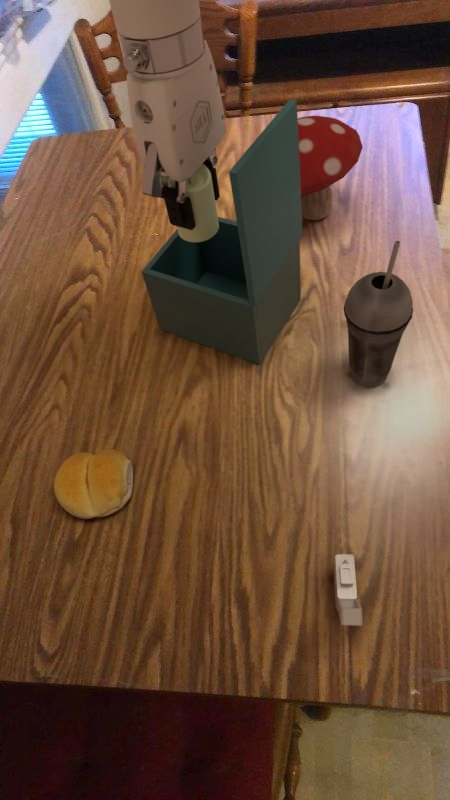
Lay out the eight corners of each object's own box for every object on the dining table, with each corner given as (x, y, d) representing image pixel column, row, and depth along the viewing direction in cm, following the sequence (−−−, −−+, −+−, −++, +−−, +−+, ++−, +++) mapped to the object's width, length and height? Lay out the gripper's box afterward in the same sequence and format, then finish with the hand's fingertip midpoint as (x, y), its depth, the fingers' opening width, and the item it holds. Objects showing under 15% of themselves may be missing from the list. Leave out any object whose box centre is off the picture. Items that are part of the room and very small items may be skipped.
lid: (228, 171, 50) (236, 173, 50) (289, 98, 56) (296, 99, 56) (249, 303, 64) (255, 305, 64) (296, 234, 69) (302, 235, 69)
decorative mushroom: (300, 263, 83) (298, 172, 70) (235, 214, 91) (224, 124, 79) (380, 213, 87) (391, 118, 74) (311, 170, 95) (311, 78, 83)
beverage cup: (327, 366, 72) (333, 240, 55) (375, 341, 73) (395, 212, 56) (361, 406, 68) (378, 284, 51) (411, 380, 69) (443, 253, 52)
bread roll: (63, 460, 68) (51, 444, 65) (136, 453, 68) (127, 436, 64) (54, 525, 64) (40, 511, 60) (132, 518, 63) (122, 503, 60)
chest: (159, 329, 79) (140, 271, 70) (205, 270, 84) (192, 209, 75) (259, 365, 73) (252, 307, 64) (300, 299, 79) (299, 237, 70)
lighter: (333, 568, 57) (336, 540, 51) (350, 568, 57) (356, 540, 50) (337, 643, 53) (341, 623, 47) (356, 644, 53) (363, 623, 46)
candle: (227, 223, 68) (218, 160, 61) (203, 248, 66) (191, 186, 59) (194, 211, 70) (182, 150, 63) (169, 235, 68) (154, 174, 61)
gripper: (145, 97, 46) (185, 266, 61) (243, 4, 53) (257, 175, 68) (73, 84, 49) (129, 249, 64) (176, -2, 56) (204, 163, 71)
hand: (195, 209), depth 66 cm, fingers closed on candle, 4 cm apart
